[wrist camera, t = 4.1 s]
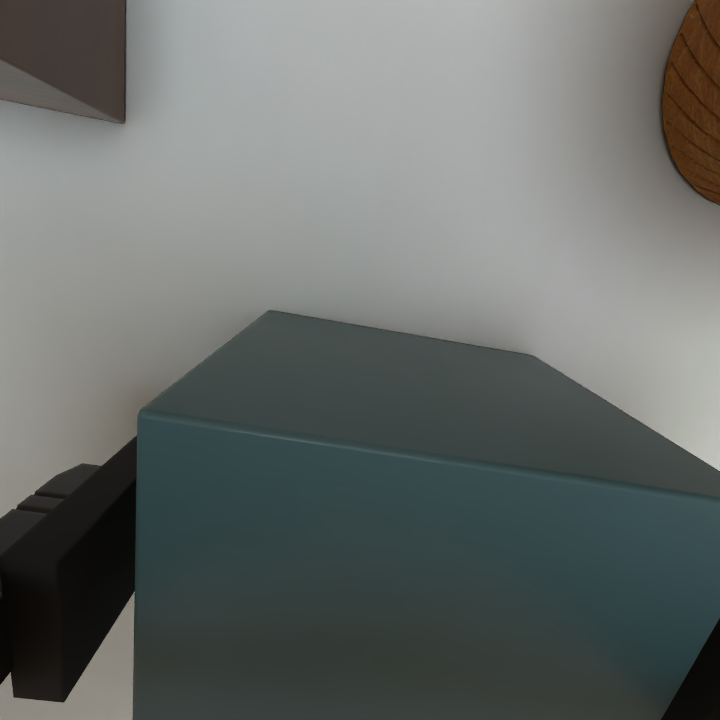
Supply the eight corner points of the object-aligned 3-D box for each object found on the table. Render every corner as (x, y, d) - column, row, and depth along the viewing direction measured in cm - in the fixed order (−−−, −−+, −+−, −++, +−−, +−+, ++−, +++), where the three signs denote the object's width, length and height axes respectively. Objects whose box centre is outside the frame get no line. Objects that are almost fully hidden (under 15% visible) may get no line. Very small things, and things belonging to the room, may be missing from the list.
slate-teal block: (242, 537, 13) (128, 837, 7) (267, 309, 11) (133, 410, 4) (467, 567, 14) (575, 874, 7) (535, 355, 12) (787, 510, 5)
